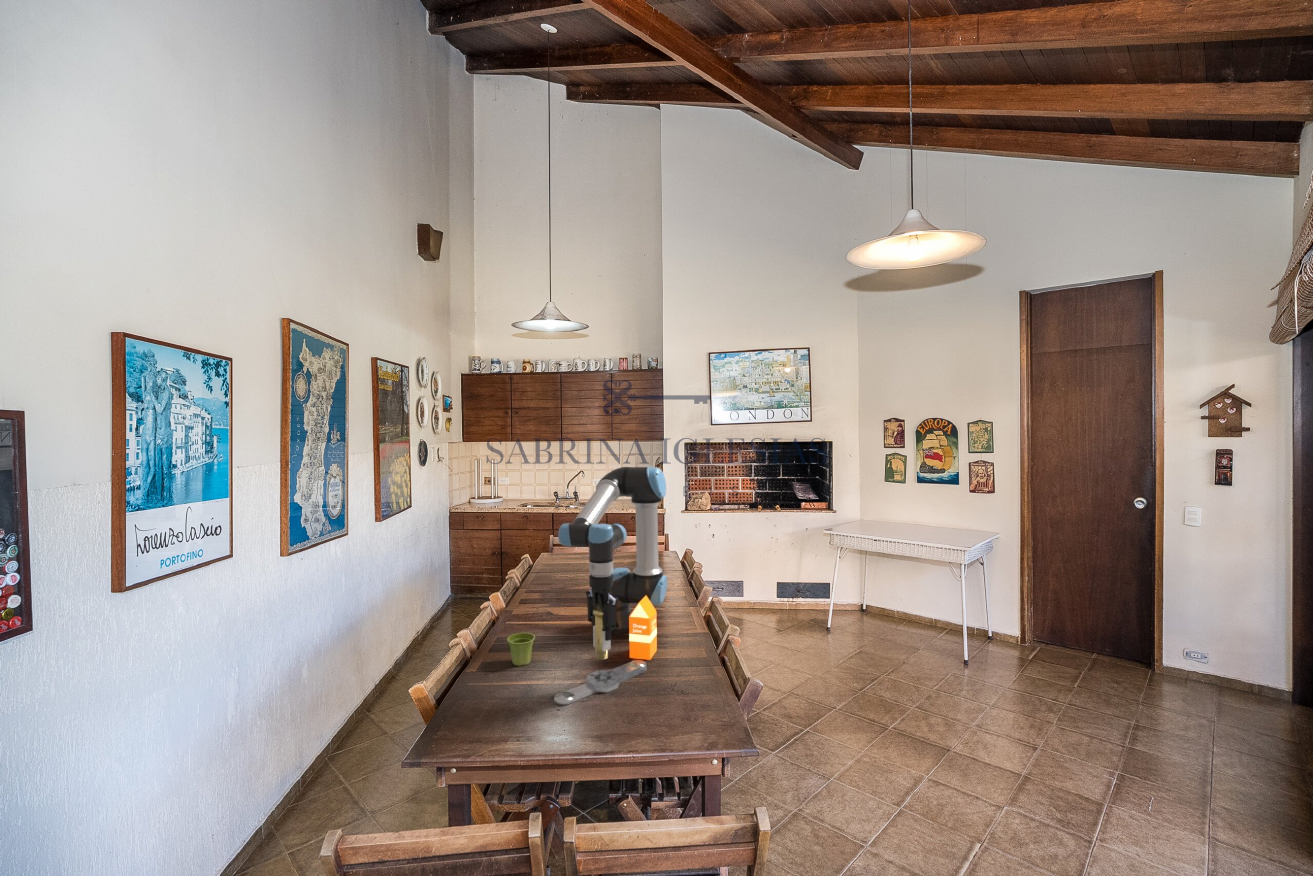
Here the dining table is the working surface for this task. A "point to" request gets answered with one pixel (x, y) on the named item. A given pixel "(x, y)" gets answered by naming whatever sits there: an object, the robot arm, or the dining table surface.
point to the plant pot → (521, 648)
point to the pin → (599, 635)
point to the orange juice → (643, 630)
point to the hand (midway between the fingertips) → (601, 647)
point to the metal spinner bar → (601, 682)
